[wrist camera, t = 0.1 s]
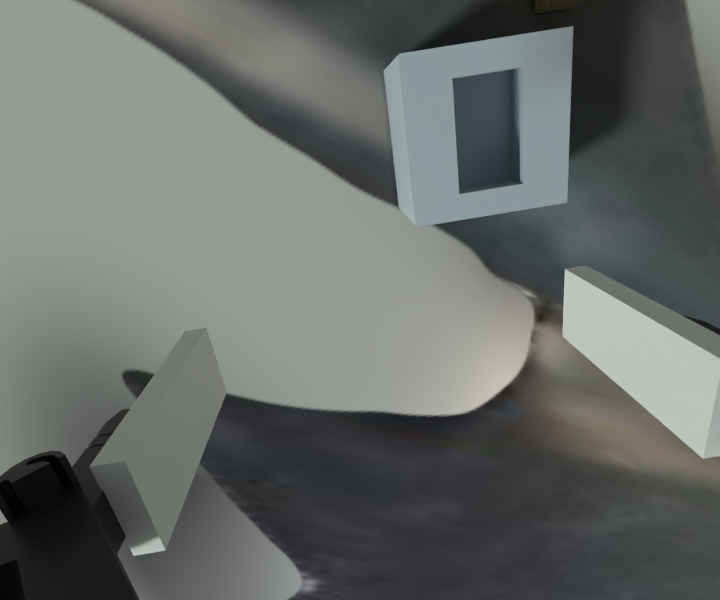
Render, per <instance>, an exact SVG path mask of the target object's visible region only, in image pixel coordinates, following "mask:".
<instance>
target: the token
mask: <svg viewBox="0 0 720 600" xmlns="http://www.w3.org/2000/svg"><path fill="white" fill-rule="evenodd" d="M583 1H585V0H535V14H537V13H543V12H550V11H556V10H562V9H569V8H571V7H573V6H575V5H577V4H579V3H581V2H583Z"/></svg>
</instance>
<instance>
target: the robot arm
mask: <svg viewBox="0 0 720 600" xmlns="http://www.w3.org/2000/svg"><path fill="white" fill-rule="evenodd" d="M563 337H564V338H565V339H566V340H567V341H569V342H570V343H571V344H572V345H573V346H574V347H575V348H577V349H578V350H579V351H580V352H581V353H582V354H584V355H585V356H586V357H587V358H588V359H589V360H590V361H592V362H593V363H594V364H595V365H596V366H597V367H598V368H600V369H601V370H602V371H603V372H604V373H605V374H607V375H608V376H609V377H610V378H611V379H612V380H613V381H615V382H616V383H617V384H618V385H619V386H620V387H621V388H623V389H624V390H625V391H626V392H627V393H628V394H630V395H631V396H632V397H633V398H634V399H635V400H636V401H638V402H639V403H640V404H641V405H642V406H643V407H644V408H646V409H647V410H648V411H649V412H650V413H651V414H652V415H654V416H655V417H656V418H657V419H658V420H659V421H661V422H662V423H663V424H664V425H665V426H666V427H667V428H669V429H670V430H671V431H672V432H673V433H674V434H675V435H677V436H678V437H679V438H680V439H681V440H682V441H684V442H685V443H686V444H687V445H688V446H689V447H690V448H692V449H693V450H694V451H695V452H696V453H697V454H698V455H700V456H701V457H702V458H703V459H704V458H710V457H716V456H720V329H718V328H716V327H715V326H713V325H711V324H709V323H707V322H705V321H701V320H698V319H694V318H691V317H687V316H684V315H680V314H678V313H676V312H674V311H672V310H670V309H668V308H666V307H664V306H662V305H661V304H659V303H657V302H655V301H653V300H651V299H649V298H647V297H645V296H643V295H641V294H639V293H637V292H636V291H634V290H632V289H630V288H628V287H626V286H624V285H622V284H620V283H618V282H616V281H614V280H612V279H611V278H609V277H607V276H605V275H603V274H601V273H599V272H597V271H595V270H593V269H591V268H589V267H587V266H580V267H574V268H568V269H565V283H564V310H563ZM225 395H226V389H225V386H224V382H223V379H222V376H221V373H220V370H219V367H218V363H217V360H216V357H215V354H214V351H213V348H212V344H211V341H210V338H209V335H208V332H207V329H206V328H203V329H197V330H191V331H185V332H184V334H183V335H182V337H181V338H180V339H179V341H178V342H177V344H176V345H175V347H174V348H173V349H172V351H171V352H170V354H169V355H168V356H167V358H166V359H165V361H164V362H163V364H162V365H161V366H160V368H159V369H158V370H157V372H156V373H155V375H154V376H153V377H152V379H151V380H150V382H149V383H148V384H147V386H146V387H145V389H144V390H143V392H142V393H141V394H140V396H139V397H138V399H137V400H136V401H135V403H134V404H133V406H132V407H131V408H130V409H124V410H121V411H120V412H119V413H117V414H116V415H115V416H114V417H112V418H111V419H110V420H109V421H107V422H106V423H105V425H104V426H103V427H102V429H101V430H100V431H99V433H98V434H97V437H96V438H94V439H93V441H92V442H91V443H90V444H89V448H87V449H86V450H85V451H84V453H83V454H82V455H81V456H80V458H79V459H78V460H77V462H76V463H75V464H74V466H73V467H71V465H70V463H69V462H68V460H67V458H66V456H65V455H64V454H63V453H61V452H60V451H49V452H45V453H41V454H37V455H35V456H32V457H30V458H28V459H25V460H24V461H22V462H20V463H18V464H17V465H15V466H13V467H11V468H10V469H9V470H8V471H6V472H5V473H4V474H3V475H2V476H0V510H1V511H2V513H3V514H4V516H5V518H6V519H7V521H8V522H6V523H3V524H1V525H0V600H139V598H138V596H137V594H136V592H135V590H134V588H133V586H132V584H131V582H130V580H129V578H128V575H127V573H126V572H125V569H124V567H123V565H122V564H121V561H120V560H119V558H118V556H117V553H118V551H119V549H120V547H121V545H122V543H123V541H124V539H126V541H127V543H128V545H129V547H130V549H131V551H132V553H133V555H134V556H135V555H141V554H146V553H152V552H158V551H163V550H166V548H167V545H168V543H169V540H170V537H171V535H172V532H173V530H174V527H175V524H176V522H177V519H178V517H179V514H180V511H181V509H182V506H183V504H184V501H185V498H186V496H187V493H188V491H189V488H190V485H191V483H192V480H193V478H194V475H195V472H196V470H197V467H198V465H199V462H200V460H201V457H202V454H203V452H204V449H205V447H206V444H207V441H208V439H209V436H210V434H211V431H212V428H213V426H214V423H215V421H216V418H217V415H218V413H219V410H220V408H221V405H222V402H223V400H224V397H225Z"/></svg>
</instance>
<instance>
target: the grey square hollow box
mask: <svg viewBox="0 0 720 600" xmlns="http://www.w3.org/2000/svg"><path fill="white" fill-rule="evenodd" d="M572 51H573V26H570V27H564V28H558V29H552V30H545V31H539V32H533V33H526V34H520V35H514V36H508V37H501V38H495V39H489V40H482V41H476V42H470V43H463V44H457V45H451V46H445V47H438V48H432V49H426V50H419V51H413V52H407V53H400V54H399V55H398V56H397V57H396V58H395V59H394V60H393V61H392V62H391V63H390V64H389V66H388V67H387V68H386V69H385V70H384V71H383V72H384V81H385V90H386V99H387V108H388V117H389V125H390V134H391V143H392V152H393V161H394V170H395V178H396V187H397V196H398V205H399V209H400V210H401V211H402V212H403V213H404V214H405V215H406V216H407V217H408V218H409V219H410V220H411V221H412V223H413V224H414V225H415V226H416V227H421V226H427V225H433V224H439V223H445V222H451V221H457V220H464V219H470V218H476V217H482V216H488V215H494V214H500V213H506V212H512V211H519V210H525V209H531V208H537V207H543V206H549V205H555V204H561V203H567V191H568V163H569V135H570V107H571V79H572Z"/></svg>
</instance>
